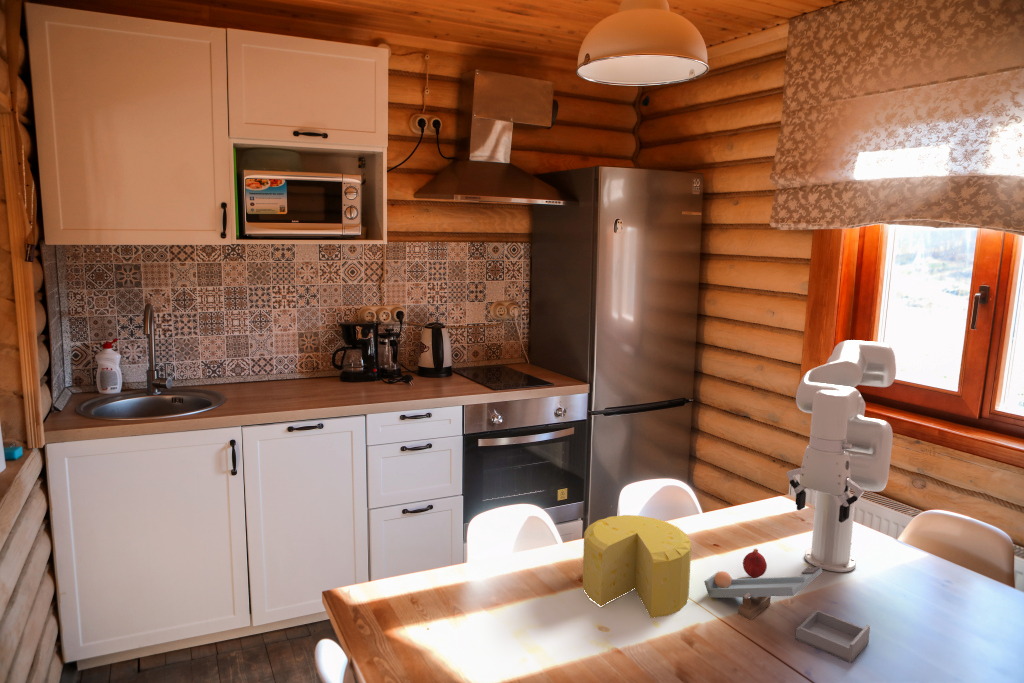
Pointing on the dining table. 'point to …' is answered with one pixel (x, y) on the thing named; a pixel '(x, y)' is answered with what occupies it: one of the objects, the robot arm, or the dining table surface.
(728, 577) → the ball
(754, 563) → the onion
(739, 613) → the fulcrum
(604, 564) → the cheese
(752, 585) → the lever
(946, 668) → the dining table surface
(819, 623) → the dish
